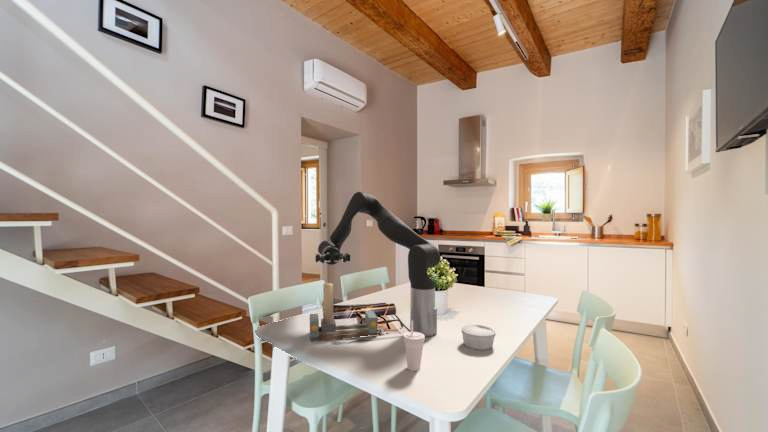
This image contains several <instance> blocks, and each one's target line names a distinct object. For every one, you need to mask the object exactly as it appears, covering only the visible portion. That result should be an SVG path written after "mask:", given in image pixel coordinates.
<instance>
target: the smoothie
mask: <svg viewBox="0 0 768 432" xmlns="http://www.w3.org/2000/svg"><path fill="white" fill-rule="evenodd" d="M425 337H426V336H425V335H424V334H422V333H420V332H413V320H411V332H410V331H408V332H404V333H403V335H402V340H403V341H404V350H405V351H404V352H405V356H406V357H405V360H406V367H407V370H409V371H410V372H411V371H412V372H417V371H419V370H421V365H422V357H423V349H424V341H425V340H426V338H425Z"/></svg>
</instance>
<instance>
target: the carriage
mask: <svg viewBox="0 0 768 432" xmlns="http://www.w3.org/2000/svg"><path fill="white" fill-rule="evenodd" d="M322 287H323V294H322V295H323V303H322V304H323V306H322V307H323V308H322V309H323V310H322V314H323V316H322V318H320V327H321V331H322V332H327V331H336V326H337V322H336V319H335V318H334V283H332V282H325V283H323V285H322Z"/></svg>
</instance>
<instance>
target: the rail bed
mask: <svg viewBox="0 0 768 432" xmlns="http://www.w3.org/2000/svg"><path fill="white" fill-rule="evenodd" d="M373 334H374V335H376V334H377V335H378V331H377V332H376V333H373ZM368 335H371V334H370V333H369V329H368V328H366V324H365V323H356V324H339V325H337V324H336V331H327V332H322V331H321V326H319V337H317V339H316V337H312V340H313V338H315V339H316V340H317V341H316V342H322V341H335V340H334V339H339V340H344V339H343V338H352V337H360V336H368ZM318 338H319V341H318ZM352 339H353V338H352ZM313 342H315V341H314V340H313Z"/></svg>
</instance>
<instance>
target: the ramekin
mask: <svg viewBox="0 0 768 432" xmlns="http://www.w3.org/2000/svg"><path fill="white" fill-rule="evenodd" d="M461 333H462V339H463V344H464V345H465V346H466V347H468V348H469V349H473V350H477V351H478V350H479V351H487V350H490V349H491V348H492V347H493V345H494V341H495V337H496V330H494V329H493V328H491V327H489V326H485V325H480V324H468V325H467V324H466V325H464V326H463V327H462V328H461Z"/></svg>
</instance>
